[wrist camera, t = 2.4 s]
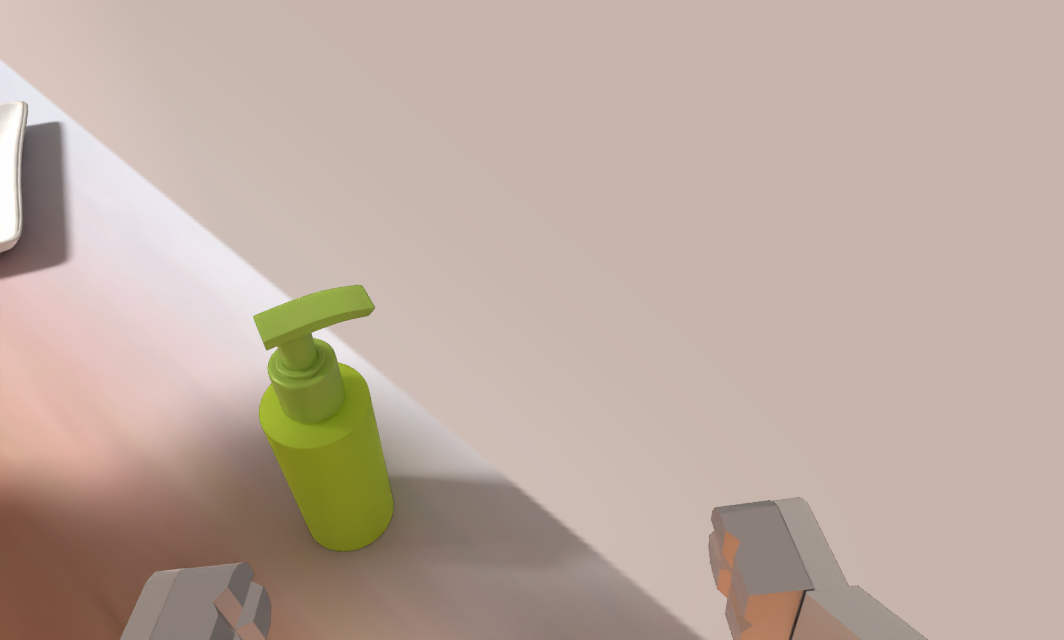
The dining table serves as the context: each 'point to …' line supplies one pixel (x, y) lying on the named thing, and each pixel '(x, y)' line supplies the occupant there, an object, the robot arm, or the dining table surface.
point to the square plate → (11, 171)
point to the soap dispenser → (324, 421)
